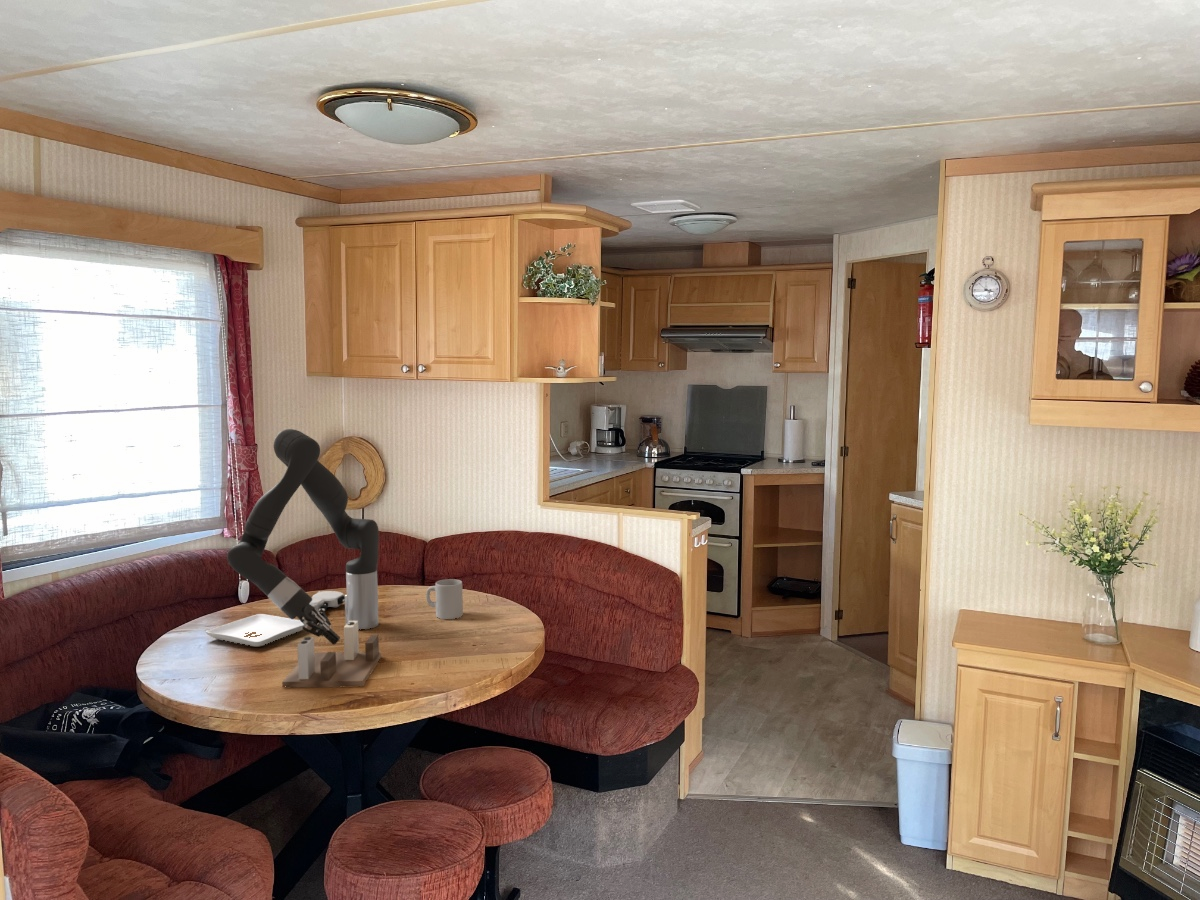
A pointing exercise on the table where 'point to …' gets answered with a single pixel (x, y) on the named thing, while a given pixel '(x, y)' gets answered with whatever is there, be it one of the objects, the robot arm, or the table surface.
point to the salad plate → (257, 629)
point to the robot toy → (327, 600)
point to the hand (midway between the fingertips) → (337, 641)
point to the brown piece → (339, 668)
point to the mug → (447, 598)
